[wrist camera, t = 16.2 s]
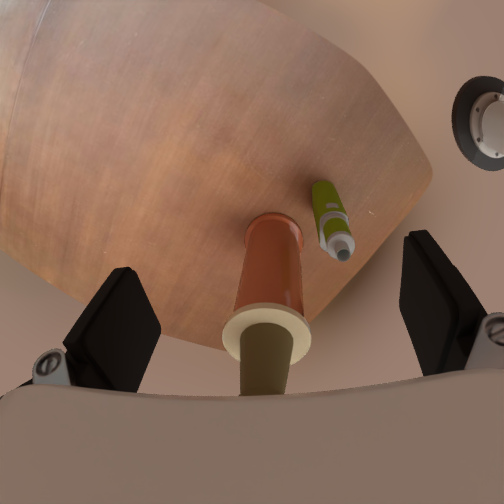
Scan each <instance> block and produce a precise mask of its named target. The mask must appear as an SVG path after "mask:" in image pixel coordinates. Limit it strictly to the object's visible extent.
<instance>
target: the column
mask: <svg viewBox="0 0 504 504" xmlns="http://www.w3.org/2000/svg"><path fill="white" fill-rule="evenodd" d="M244 243H245V248H246V254H245V258H244V263H243V268H242V273H241V277H240V282H239V287H238V292H237V296H236V301H235V306H234V311H233V313H232V314H231V315H230V316H229V317H228V319H227V320H226V322H225V325H224V328H223V333H222V340H223V344H224V346H225V348H226V350H227V351H228V353H229V354H230V355H231V356H233V357H234V358H235V359H236V360H238V361H240V336H241V333H242V332H243V331H244V330H245V329H246V328H247V327H249V326H251V325H254V324H257V323H273V324H278V325H280V326H282V327H284V328H286V329H287V330H288V331H289V332H290V333H291V335H292V337H293V343H294V344H293V350H292V355H291V361H290V365H291V364H294V363H295V362H297V361H299V360H300V359H301V358H303V356H305V354H306V353H307V352H308V350H309V348H310V345H311V331H310V327H309V324H308V322H307V321H306V319H305V318H304V309H303V292H302V276H301V261H300V253H301V250H302V247H303V235H302V232H301V229H300V227H299V226H298V224H297V223H296V222H295V221H294V220H293V219H291V218H290V217H288V216H285V215H282V214H278V213H269V214H264V215H262V216H259V217H258V218H256V219H255V220H253V221H252V222H251V224H250V225H249V226H248V228H247V230H246V234H245V239H244Z"/></svg>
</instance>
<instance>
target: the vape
mask: <svg viewBox="0 0 504 504" xmlns="http://www.w3.org/2000/svg"><path fill="white" fill-rule="evenodd" d="M312 208H313V213H314V217H315V222H316V227H317V232H318V237H319V243H320V247H321V248H322V249H323V250H324V251H327V252H328V253H329V255H330V256H331V257H333V258H335V259H338V260H339V261H342V262H344V261H347V260H348V259H349V258H350V257H351V254H352V253H353V251H354V249H355V242H354V239H353V237H352V235H351V232H350V230H349V219H348V216H347V214H346V212H345V209H344V207H343V205H342V202H341V200H340V198H339V196H338V193H337V191H336V189H335V187H334V185H333V184H332V183H331V182H329V181H325V180H322V181H318V182H316V183H314V184H313V186H312Z"/></svg>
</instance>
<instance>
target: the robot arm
mask: <svg viewBox="0 0 504 504" xmlns="http://www.w3.org/2000/svg"><path fill="white" fill-rule="evenodd" d="M469 123H470V132H471V136H472V139H473V141H474V143H475V145H476V146H477V148H478V149H479V150H480V151H481V152H482V153H484V154H485V155H487V156H489V157H492V158H501V157H504V95H502V94H500V93H497V92H486V93H484V94H482V95H480V96H479V97H478V98H477V99H476V101H475V102H474V104H473V106H472V109H471V113H470V120H469ZM399 307H400V312H401V314H402V317H403V319H404V322H405V325H406V327H407V330H408V333H409V335H410V338H411V341H412V344H413V346H414V349H415V352H416V355H417V358H418V361H419V364H420V367H421V370H422V373H423V376H424V377H418V378H413V379H408V380H402V381H396V382H390V383H383V384H377V385H370V386H363V387H356V388H348V389H340V390H331V391H322V392H311V393H299V394H283V395H263V396H178V395H157V394H143V393H137V390H138V388H139V386H140V383H141V381H142V378H143V375H144V373H145V371H146V368H147V366H148V363H149V361H150V358H151V356H152V353H153V351H154V349H155V346H156V344H157V342H158V339H159V337H160V334H161V326H160V323H159V321H158V319H157V317H156V315H155V313H154V311H153V308H152V306H151V304H150V302H149V300H148V298H147V295H146V293H145V291H144V289H143V287H142V284H141V282H140V280H139V278H138V275H137V273H136V272H135V271H134V270H132V269H131V268H130V267H123V268H116V269H114V270H113V271H112V272H111V274H110V275H109V276H108V278H107V279H106V280H105V282H104V283H103V285H102V286H101V287H100V289H99V290H98V291H97V293H96V294H95V296H94V297H93V298H92V300H91V301H90V303H89V304H88V305H87V307H86V308H85V310H84V311H83V313H82V314H81V315H80V317H79V318H78V320H77V321H76V323H75V324H74V326H73V327H72V329H71V330H70V332H69V333H68V335H67V336H66V338H65V339H64V341H63V345H64V346H65V347H66V349H67V352H66V353H64V352H63V351H62V350H61V349H51V350H49V351H47V352H45V353H43V354H42V355H41V356H40V357H39V358H38V359H37V360H36V362H35V364H34V366H33V370H32V376H33V378H32V379H31V380H29V381H27V382H25V383H24V384H22V385H20V386H19V387H17V388H16V389H14V390H11V391H9V392H7V393H6V394H5V395H3V396H1V397H0V504H504V313H502V312H498V313H497V312H496V313H491V314H489V315H488V314H487V313H486V311H485V309H484V308H483V306H482V305H481V303H480V302H479V300H478V298H477V297H476V295H475V294H474V292H473V291H472V289H471V288H470V286H469V285H468V283H467V282H466V280H465V279H464V278H463V276H462V275H461V273H460V272H459V270H458V269H457V268H456V267H455V266H454V265H453V264H452V263H451V261H450V260H449V259H448V257H447V256H446V254H445V253H444V252H443V251H442V249H441V248H440V246H439V245H438V244H437V243H436V241H435V240H434V239H433V237H432V236H431V235H430V234H429V232H428V231H427V230H418V231H411V232H410V233H409V236H406V237H405V238H404V246H403V264H402V277H401V288H400V299H399Z"/></svg>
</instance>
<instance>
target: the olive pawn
mask: <svg viewBox="0 0 504 504" xmlns="http://www.w3.org/2000/svg"><path fill="white" fill-rule="evenodd" d="M293 344H294V343H293V337H292V335H291V333H290V332H289V331H288V330H287V329H286V328H284V327H282V326H280V325H278V324H273V323H257V324H254V325H251V326H249V327H247V328H246V329H245V330H244V331H243V332H242V333H241V336H240V393H241V394H240V395H239V396H263V395H283V394H284V392H285V387H286V382H287V377H288V372H289V366H290V361H291V355H292V350H293Z"/></svg>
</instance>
